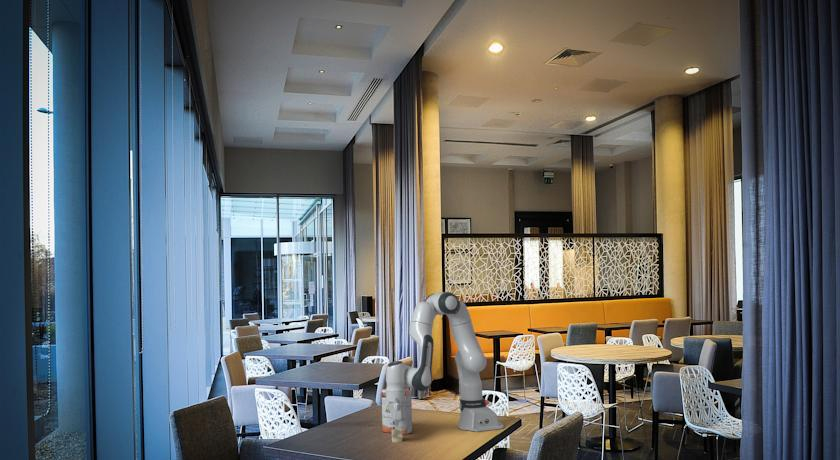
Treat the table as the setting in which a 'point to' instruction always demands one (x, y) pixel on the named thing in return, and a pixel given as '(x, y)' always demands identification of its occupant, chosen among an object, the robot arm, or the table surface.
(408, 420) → the cracker box
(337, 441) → the table surface
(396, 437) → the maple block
